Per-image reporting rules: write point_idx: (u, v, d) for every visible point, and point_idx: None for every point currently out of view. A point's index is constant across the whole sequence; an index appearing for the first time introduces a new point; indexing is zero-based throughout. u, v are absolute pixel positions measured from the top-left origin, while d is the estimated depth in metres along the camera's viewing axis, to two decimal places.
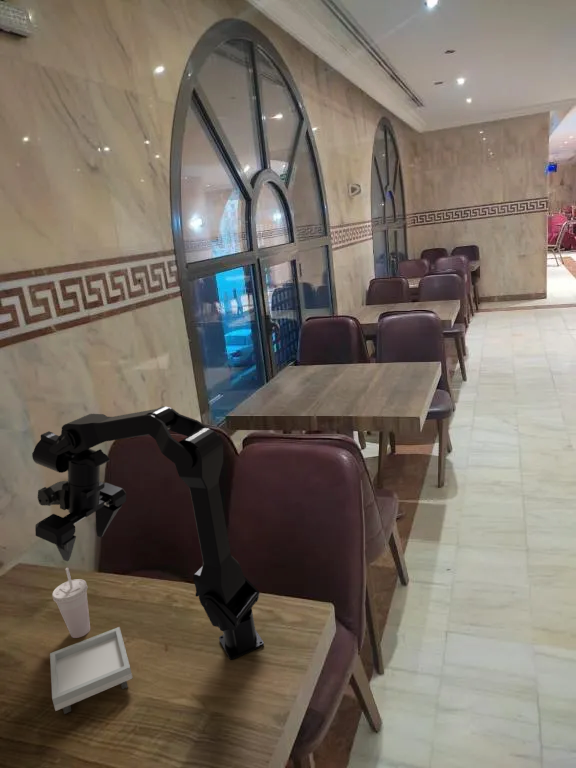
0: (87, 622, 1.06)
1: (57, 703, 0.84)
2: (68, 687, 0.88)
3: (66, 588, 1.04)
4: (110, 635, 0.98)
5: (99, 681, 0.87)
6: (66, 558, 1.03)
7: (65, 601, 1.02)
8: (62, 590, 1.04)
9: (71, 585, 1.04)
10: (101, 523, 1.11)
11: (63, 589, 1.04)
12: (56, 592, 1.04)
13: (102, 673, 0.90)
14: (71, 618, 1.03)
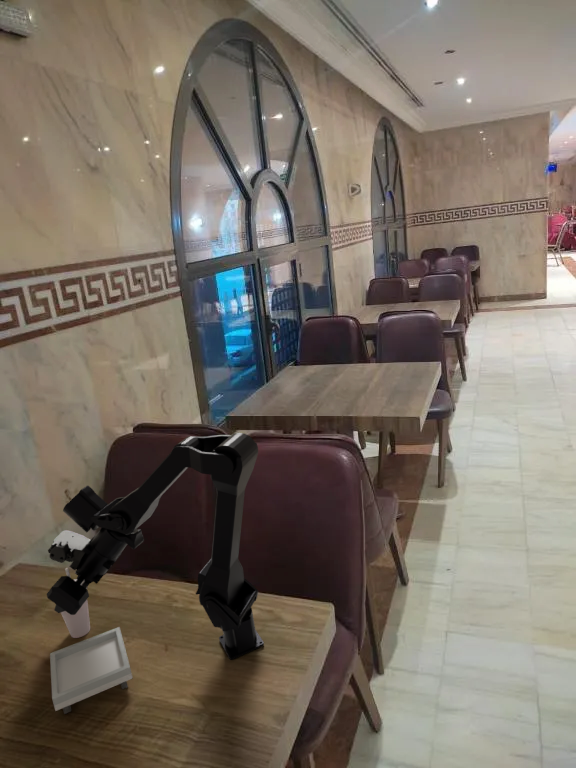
0: (87, 622, 1.06)
1: (57, 703, 0.84)
2: (68, 687, 0.88)
3: None
4: (110, 635, 0.98)
5: (99, 681, 0.87)
6: (60, 611, 1.01)
7: None
8: None
9: None
10: (84, 580, 1.08)
11: None
12: None
13: (102, 673, 0.90)
14: (70, 618, 1.03)
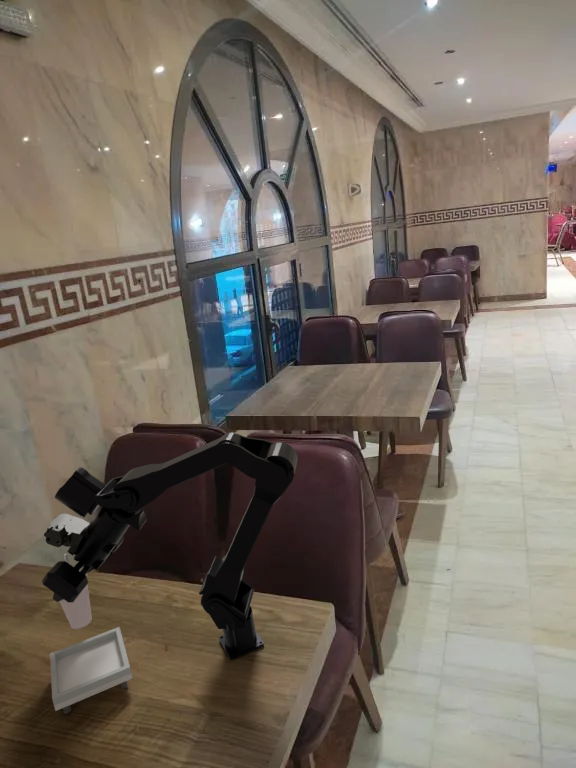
0: (88, 612, 0.99)
1: (57, 703, 0.84)
2: (68, 687, 0.88)
3: None
4: (110, 635, 0.98)
5: (99, 681, 0.87)
6: (58, 599, 0.95)
7: None
8: None
9: None
10: (84, 567, 1.01)
11: None
12: None
13: (102, 673, 0.90)
14: (70, 608, 0.97)
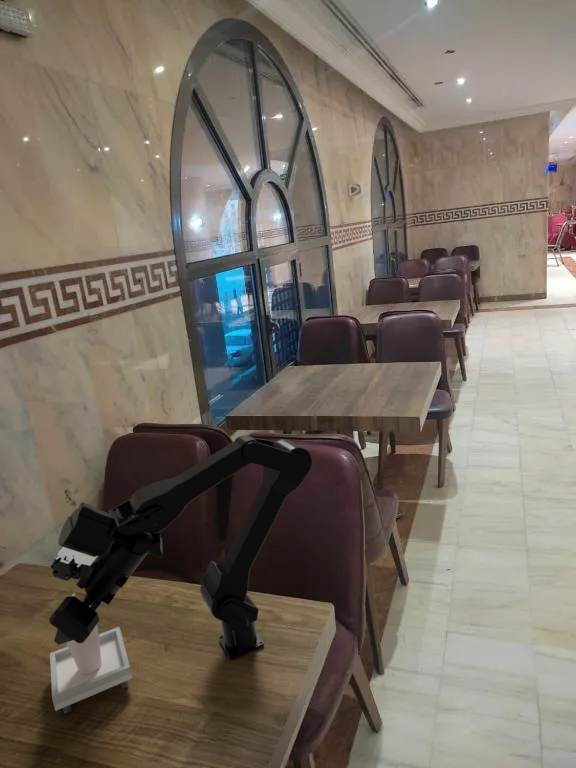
0: (98, 656, 0.91)
1: (57, 703, 0.84)
2: (68, 687, 0.88)
3: None
4: (110, 635, 0.98)
5: (99, 680, 0.87)
6: (61, 642, 0.85)
7: None
8: None
9: None
10: None
11: None
12: None
13: (102, 673, 0.90)
14: (79, 652, 0.88)
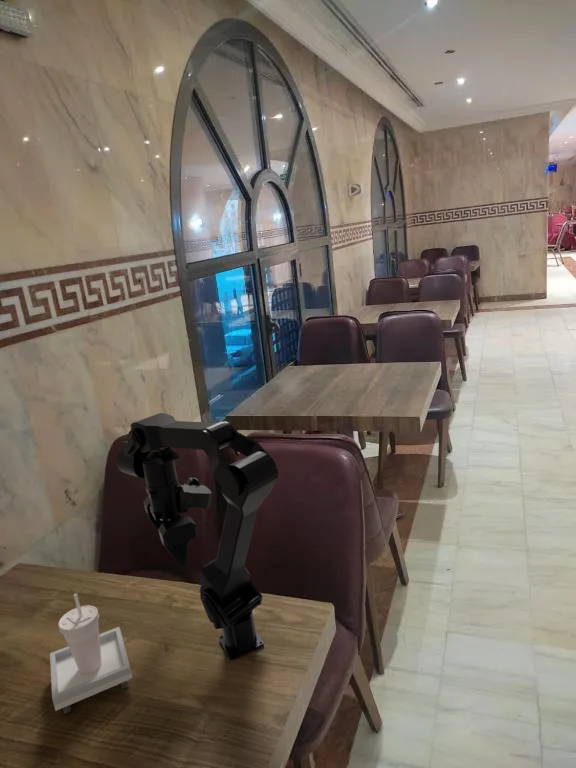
0: (98, 656, 0.91)
1: (57, 703, 0.84)
2: (68, 687, 0.88)
3: (74, 617, 0.90)
4: (110, 635, 0.98)
5: (99, 680, 0.87)
6: None
7: (74, 633, 0.87)
8: (70, 619, 0.89)
9: (80, 613, 0.89)
10: None
11: (71, 618, 0.89)
12: (63, 621, 0.89)
13: (102, 673, 0.90)
14: (79, 652, 0.88)
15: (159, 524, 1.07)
